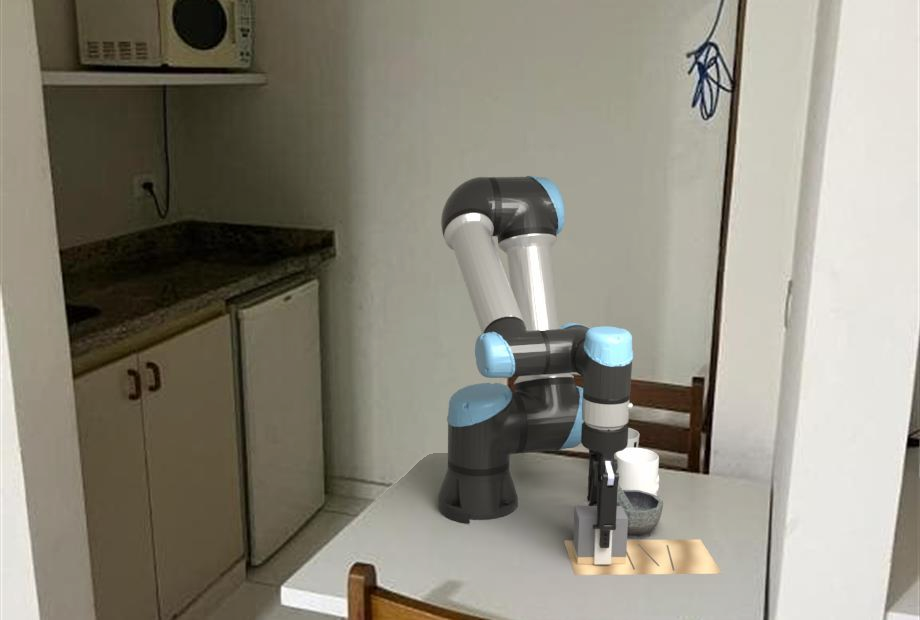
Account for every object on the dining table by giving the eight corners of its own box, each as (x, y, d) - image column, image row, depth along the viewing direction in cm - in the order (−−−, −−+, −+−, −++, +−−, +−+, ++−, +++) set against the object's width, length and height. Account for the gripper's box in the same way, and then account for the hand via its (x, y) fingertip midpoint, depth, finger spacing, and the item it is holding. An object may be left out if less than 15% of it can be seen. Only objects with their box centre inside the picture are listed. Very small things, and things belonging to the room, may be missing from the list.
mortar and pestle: (656, 525, 169) (660, 464, 166) (665, 549, 159) (669, 484, 157) (594, 524, 169) (597, 462, 166) (600, 547, 160) (603, 483, 157)
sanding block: (577, 564, 152) (579, 518, 150) (572, 549, 157) (574, 506, 155) (625, 563, 152) (628, 518, 150) (619, 549, 157) (621, 505, 155)
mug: (642, 497, 181) (645, 439, 178) (662, 523, 169) (666, 462, 167) (601, 498, 180) (604, 440, 177) (619, 525, 168) (622, 464, 166)
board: (574, 580, 149) (574, 574, 148) (563, 545, 160) (563, 540, 160) (721, 578, 150) (722, 573, 149) (699, 544, 161) (700, 539, 161)
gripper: (640, 442, 141) (632, 581, 146) (617, 405, 158) (611, 530, 163) (591, 442, 140) (585, 582, 145) (573, 405, 158) (568, 531, 163)
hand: (599, 554), depth 154 cm, fingers closed on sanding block, 5 cm apart
